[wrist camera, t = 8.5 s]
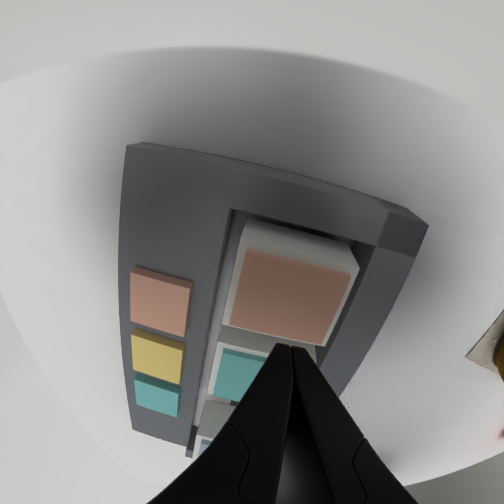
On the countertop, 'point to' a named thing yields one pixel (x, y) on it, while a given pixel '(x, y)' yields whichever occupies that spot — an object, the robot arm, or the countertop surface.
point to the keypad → (210, 261)
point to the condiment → (491, 348)
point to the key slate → (211, 424)
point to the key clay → (288, 283)
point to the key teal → (242, 360)
